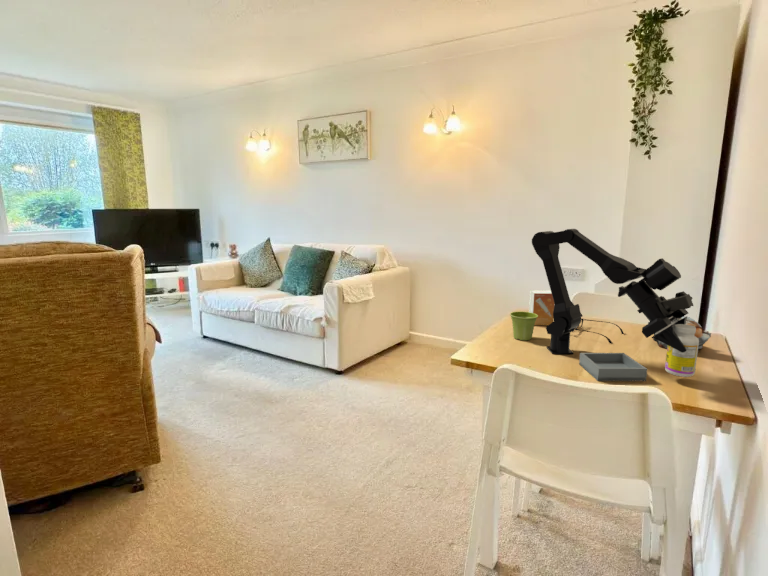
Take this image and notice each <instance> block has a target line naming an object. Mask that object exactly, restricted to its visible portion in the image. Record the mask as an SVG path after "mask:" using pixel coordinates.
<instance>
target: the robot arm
mask: <svg viewBox="0 0 768 576" xmlns="http://www.w3.org/2000/svg"><path fill="white" fill-rule="evenodd" d="M565 243H567V244H569V245H570V246H571V247H573V248H574V249H575V250H577V251H578V252H580V253H581V254H583V255H584V256H585V257H586V258H588V259H589V260H590V261H592V262H593V263H595V264H596V265H597V266H598V267H599V268H600V269H601V271H602V273H603V275H605V276H606V277H607V278H608V279H609V280H610V281H611V282H612V283H613V284H616V285H621V284H625V283H628V284H627V285H626V286H623V285H622V286H619V287H618V293H617V297H619V298H620V297H623V296H625V295H626V296H628V298H629V299H630V300H631V301H632V302H633V303H634V305H635V306H636V307H637V308H638V310H637V312H638V314H643V315H644V316H645V317H646V319H648V322H647V324H646V325H644V326H643V327H642V328H641V333H642V334H643V335H644V336H645V338H647V339H648V338H649V337H651V338H652V339H653V338H654V339H656V340H658V341H661V342H663V343H665V344H667V345H669V346H671V347H673V348H675V349H676V350H678V351H680V352H682V353H683V352H685V351H686V348H685V347H684V345H683V343H682V342H681V340H680V339H679V337H678V336H677V334H676V333H675V325H676V324H685V325H686V320H687V317H688V314H689V312H688V309H691V307H694V303H693V297H692V296H691V295H690V293H688V294H687V292H685V291H684V290H683V291H679V292H677V293H675V296H674V297H672V298H668V299H666V297H665V296H662V295H661V296H659V295H658V294H657V293H656V292H655V290H659V291H662V290H664V289H666V288H667V287H668V286H670V285H672V284H673V283H675V282H676V281H677V280H680V279H681V278H682V275H681V272H680V271H679V270H678V269H677V267H675V266H674V265H672V264H671V263H670V262H668V261H666V260H665V258H659V259H657V260H656V261H654V262H653V264H652V265H651V266H649V267H648V268H643V267H638V266H636V265H635V264H634V263H632V262H631V261H628V260H626V259H624V258H623V257H619V256H616V255H613V254H612V253H609V252H608V251H607V250H605V249H604V248H603V247H601V246H600V245H598V244H597V243H596V242H594V241H593V240H592V239H590V238H588V237H587V236H585V235H584V234H582V233H581V232H580V231H579V230H578V229H576V228H567V229H565V230H561V231H556V232H555V231H553V230H547V231H546V230H545V231H539V232H536V233H534V235H533V237H532V238H531V245H532V247H533V250H534V252H535V254H537V256H538V257H539V259H541V261H542V264H543V267H544V270H545V275H546V278H547V281H548V286H549V289H550V290H551V293H552V296H553V300H554V310H553V322H552V323H551V324H550V325H548V326H547V325H546V326H545V330H546V333H547V335H550V345H547V346H546V348H547V350H548V351H549V352H550V353H551V354H552V355H553V354H554V355H574V352H573V350H571V349H570V344H571V333H574V332H573V331H576V330H575V329H576V327H577V328H578V327H579V326H580V324H582V320H581V319H582V317H583V314H582V312H581V310H580V309H581V308H580V305H579V303H577V304H574V303H573V302H572V300H571V298H570V295H569V290H568V288H567V284H566V280H565V277H564V273H563V270H562V266H561V263H560V259H559V252H560V248H561V247H560V244H565ZM640 278H642V279H640ZM637 279H640V280H639V281H634V280H637ZM683 316H685V318H683V319H682V317H683ZM654 333H655V334H656V335H654Z"/></svg>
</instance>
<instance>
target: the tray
mask: <svg viewBox="0 0 768 576" xmlns="http://www.w3.org/2000/svg"><path fill="white" fill-rule="evenodd" d="M578 364H579V366H581V367H582V368H583V369H584V370H585V371H586V372H587V373H588V374H590V375H591V376H592V378H594V379H595V380H596V381H597V382H646V381H647V377H648V376H647V375H648V368H647V367H645V366H644V365H642V364H641V363H639V362H638V361H636V360H635V359H633V358H632V357H631V356H630V355H627V353H625V352H580V353H579V361H578Z"/></svg>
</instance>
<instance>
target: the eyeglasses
mask: <svg viewBox="0 0 768 576" xmlns="http://www.w3.org/2000/svg"><path fill="white" fill-rule="evenodd" d="M584 321H590V322H600V323H604V321H602V320H594V319H593V320H592V319H585V318H581V326H580V328H581V327H582V328H583V323H584ZM605 323H607V324H612V325H615V326H616V327H618V329H619V330H620V333H621V335H622V334H624V335H625V333H624V330H623V329H622V328H621V327H620V326H619V325H618V324H616V323H614V322H610V321H609V322H608V321H605ZM574 331H581V332H588V333H591V331H590V330H583V329H579V328H578V326H577V327H576V328H575V330H574ZM592 333H593V334H598V335H601V336H602V337H604V338H605V339H606V340H607V341H608V344H613V342H612V340H611V339H610V338H609V337H607V336H606V335H604V334H601V333H599V332H595V331H592Z"/></svg>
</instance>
